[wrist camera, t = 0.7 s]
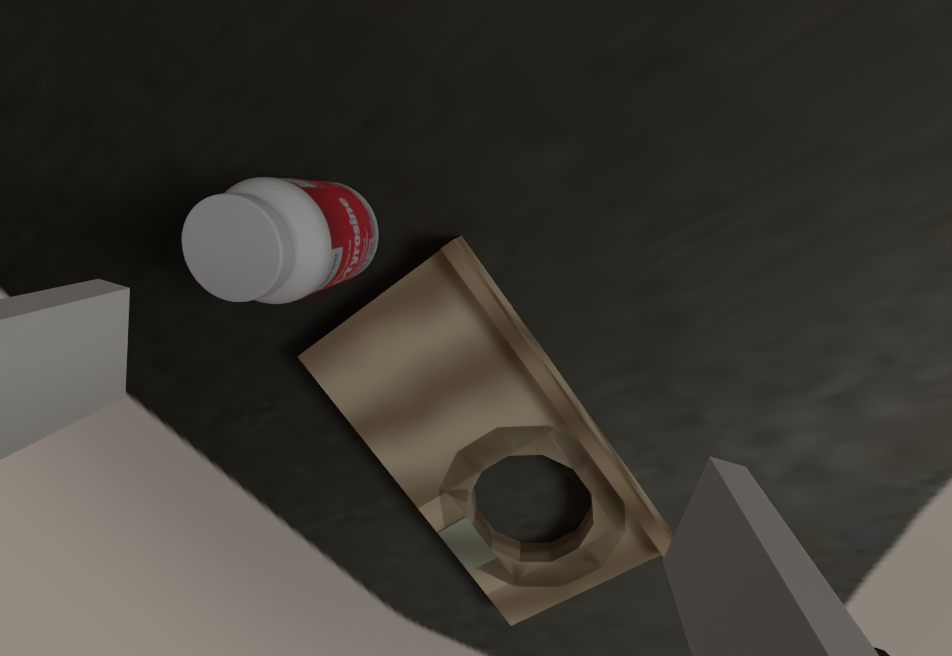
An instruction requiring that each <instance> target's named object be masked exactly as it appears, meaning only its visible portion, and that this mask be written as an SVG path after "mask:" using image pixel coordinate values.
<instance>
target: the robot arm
mask: <svg viewBox="0 0 952 656" xmlns="http://www.w3.org/2000/svg"><path fill="white" fill-rule="evenodd" d="M129 295H130V288H128V287H124V286H121V285H117V284H114V283H111V282H107V281H104V280H100V279H96V280H91V281H86V282H81V283H77V284H72V285H67V286H62V287H57V288H53V289H48V290H43V291H38V292H33V293H29V294H24V295H19V296H14V297H9V298H5V299H0V459H2V458H4V457H6V456H8V455H10V454H12V453H14V452H16V451H18V450H20V449H22V448H24V447H26V446H28V445H30V444H32V443H34V442H36V441H38V440H40V439H42V438H44V437H46V436H48V435H50V434H52V433H54V432H56V431H58V430H60V429H62V428H64V427H66V426H68V425H70V424H72V423H74V422H76V421H78V420H80V419H82V418H84V417H86V416H88V415H90V414H92V413H94V412H96V411H98V410H100V409H102V408H104V407H106V406H108V405H110V404H112V403H114V402H116V401H118V400H120V399H122V398H124V397H125V388H126V365H127V341H128V318H129ZM663 563H664V566H665V570H666V573H667V576H668V579H669V583H670V586H671V589H672V592H673V596H674V599H675V602H676V605H677V609H678V612H679V615H680V618H681V621H682V625H683V628H684V631H685V634H686V638H687V641H688V644H689V647H690V651H691V654H692V656H889V655H888V654H887V653H886V652H885V651H884V650H881V649H878V648H874V647H873V646H872V645H871V643H870V642H869V641H868V639H867V638H866V636H865V635H864V634H863V632H862V631H861V630H860V628H859V626H858V625H857V624H856V622H855V621H854V619H853V618H852V617H851V615H850V614H849V612H848V611H847V609H846V608H845V607H844V605H843V604H842V602H841V601H840V600H839V598H838V597H837V595H836V594H835V592H834V591H833V590H832V588H831V587H830V585H829V584H828V583H827V581H826V580H825V578H824V577H823V576H822V574H821V573H820V571H819V570H818V568H817V567H816V566H815V564H814V563H813V561H812V560H811V559H810V557H809V556H808V554H807V553H806V551H805V550H804V549H803V547H802V546H801V544H800V543H799V542H798V540H797V539H796V537H795V536H794V534H793V533H792V532H791V530H790V529H789V527H788V526H787V525H786V523H785V522H784V520H783V519H782V517H781V516H780V515H779V513H778V512H777V510H776V509H775V508H774V506H773V505H772V503H771V502H770V500H769V499H768V498H767V496H766V495H765V493H764V492H763V491H762V489H761V488H760V486H759V485H758V483H757V482H756V481H755V479H754V478H753V476H752V475H751V474H750V472H749V471H748V469H747V468H746V467H744V466H740V465H737V464H734V463H730V462H727V461H723V460H720V459H716V458H713V457H709V459H708V461H707V463H706V465H705V468H704V470H703V472H702V474H701V476H700V479H699V481H698V483H697V485H696V488H695V490H694V492H693V494H692V497H691V499H690V501H689V503H688V505H687V508H686V510H685V512H684V514H683V517H682V519H681V521H680V523H679V526H678V528H677V530H676V532H675V534H674V537H673V539H672V541H671V543H670V546H669V548H668V550H667V552H666V555H665V557H664V559H663Z"/></svg>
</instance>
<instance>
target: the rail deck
mask: <svg viewBox="0 0 952 656" xmlns="http://www.w3.org/2000/svg"><path fill="white" fill-rule="evenodd" d="M298 358H299V359H300V361H301V362H302V363H303V364H304V366H305V367H306V368H307V369H308V371H309V372H310V373H311V374H312V376H313V377H314V378H315V379H316V381H317V382H318V383H319V385H320V386H321V387H322V388H323V390H324V391H325V392H326V393H327V395H328V396H329V397H330V398H331V400H332V401H333V402H334V403H335V405H336V406H337V407H338V408H339V410H340V411H341V412H342V413H343V415H344V416H345V417H346V419H347V420H348V421H349V422H350V424H351V425H352V426H353V427H354V429H355V430H356V431H357V432H358V434H359V435H360V436H361V437H362V439H363V440H364V441H365V442H366V444H367V445H368V446H369V447H370V449H371V450H372V451H373V452H374V454H375V455H376V456H377V458H378V459H379V460H380V461H381V463H382V464H383V465H384V466H385V468H386V469H387V470H388V471H389V473H390V474H391V475H392V476H393V478H394V479H395V480H396V481H397V483H398V484H399V485H400V486H401V488H402V489H403V490H404V492H405V493H406V494H407V495H408V497H409V498H410V499H411V500H412V502H413V503H414V504H415V505H416V507H417V508H418V509H419V510H420V512H421V513H422V514H423V515H424V517H425V518H426V519H427V520H428V522H429V523H430V524H431V525H432V527H433V528H434V529H435V531H436V532H437V533H438V534H439V536H440V537H441V538H442V539H443V541H444V542H445V543H446V544H447V546H448V547H449V548H450V549H451V551H452V552H453V553H454V554H455V556H456V557H457V558H458V559H459V561H460V562H461V563H462V565H463V566H464V567H465V568H466V570H467V571H468V572H469V573H470V575H471V576H472V577H473V578H474V580H475V581H476V582H477V583H478V585H479V586H480V587H481V588H482V590H483V591H484V592H485V593H486V595H487V596H488V597H489V599H490V600H491V601H492V602H493V604H494V605H495V606H496V607H497V609H498V610H499V611H500V612H501V614H502V615H503V616H504V617H505V619H506V620H507V621H508V622H509V624H510V625H514V624H516V623H518V622H520V621H522V620H524V619H526V618H528V617H530V616H533V615H535V614H537V613H539V612H541V611H543V610H545V609H547V608H550V607H552V606H554V605H556V604H558V603H560V602H562V601H564V600H566V599H569V598H571V597H573V596H575V595H577V594H579V593H581V592H583V591H585V590H588V589H590V588H592V587H594V586H596V585H598V584H600V583H602V582H604V581H607V580H609V579H611V578H613V577H615V576H617V575H619V574H621V573H623V572H626V571H628V570H630V569H632V568H634V567H636V566H638V565H640V564H642V563H645V562H647V561H649V560H651V559H653V558H655V557H657V556H659V555H663V557H665V555H666V552H667V550H668V548H669V546H670V543H671V541H672V539H673V535H672V532H671V529H670V527H669V526H668V524H667V523H666V521H665V520H664V519H663V517H662V516H661V514H660V513H659V512H658V510H657V509H656V507H655V506H654V505H653V503H652V502H651V500H650V499H649V498H648V496H647V495H646V493H645V492H644V491H643V489H642V488H641V486H640V485H639V484H638V482H637V481H636V479H635V478H634V477H633V475H632V474H631V472H630V471H629V470H628V468H627V467H626V465H625V464H624V463H623V461H622V460H621V458H620V457H619V456H618V454H617V453H616V451H615V450H614V449H613V447H612V446H611V444H610V443H609V442H608V440H607V439H606V437H605V436H604V435H603V433H602V432H601V430H600V429H599V428H598V426H597V425H596V423H595V422H594V421H593V419H592V418H591V416H590V415H589V414H588V412H587V411H586V409H585V408H584V407H583V405H582V404H581V402H580V401H579V400H578V398H577V397H576V395H575V394H574V393H573V391H572V390H571V388H570V387H569V386H568V384H567V383H566V382H565V380H564V379H563V377H562V376H561V375H560V373H559V372H558V370H557V369H556V368H555V366H554V365H553V363H552V362H551V361H550V359H549V358H548V356H547V355H546V354H545V352H544V351H543V349H542V348H541V347H540V345H539V344H538V342H537V341H536V340H535V338H534V337H533V335H532V334H531V333H530V331H529V330H528V328H527V327H526V326H525V324H524V323H523V321H522V320H521V319H520V317H519V316H518V314H517V313H516V312H515V310H514V309H513V307H512V306H511V305H510V303H509V302H508V300H507V299H506V298H505V296H504V295H503V293H502V292H501V291H500V289H499V288H498V286H497V285H496V284H495V282H494V281H493V279H492V278H491V277H490V275H489V274H488V272H487V271H486V270H485V268H484V267H483V265H482V264H481V263H480V261H479V260H478V258H477V257H476V256H475V254H474V253H473V251H472V250H471V249H470V247H469V246H468V244H467V243H466V242H465V240H464V239H463V237H462V236H460V237H458V238H456V239H454V240H452V241H450V242H449V243H448V244H446V245H445V246H444V247H442V248H441V250H440V251H438V252H437V253H436V254H434V255H433V256H432V257H430V258H429V259H428V260H426V261H425V262H424V263H422V264H421V265H420V266H418V267H417V268H416V269H414V270H413V271H412V272H410V273H409V274H408V275H406V276H405V277H404V278H402V279H401V280H400V281H398V282H397V283H396V284H394V285H393V286H391V287H390V288H389V289H387V290H386V291H385V292H383V293H382V294H381V295H379V296H378V297H377V298H375V299H374V300H373V301H371V302H370V303H369V304H367V305H366V306H365V307H363V308H362V309H361V310H359V311H358V312H357V313H355V314H354V315H353V316H351V317H350V318H349V319H347V320H346V321H345V322H343V323H342V324H341V325H339V326H338V327H337V328H335V329H334V330H333V331H331V332H330V333H329V334H327V335H326V336H325V337H323V338H322V339H321V340H319V341H318V342H317V343H315V344H314V345H313V346H311V347H310V348H309V349H307V350H306V351H304V352H303V353H302V354H300V355H299V356H298ZM509 455H544V456H546V457H549V458H551V459H553V460H555V461H557V462H559V463H561V464H563V465H566V466H568V467H570V468H572V469H573V470H574V471H575V472H576V474H577V475H578V477H579V478H580V479H581V481H582V482H583V483H584V485H585V486H586V487H587V489H588V490H589V492H590V494H591V507H590V509H589V510H588V512H587V513H586V515H585V517H584V518H583V520H582V522H581V523H580V525H579V527H578V528H577V529H576V530H574V531H572V532H571V533H569V534H567V535H565V536H563V537H561V538H559V539H557V540H555V541H553V542H519V541H517V540H515V539H513V538H511V537H509V536H507V535H505V534H502V533H500V532H498V531H496V530H494V529H493V528H492V526H491V525H490V524H489V522H488V521H487V520H486V518H485V517H484V516H483V515H482V513H481V512H480V511H479V509H478V508H477V506H476V498H475V490H474V485H475V483H476V482H477V480H478V478H479V476H480V474H481V472H482V471H483V470H485V469H486V468H488V467H490V466H491V465H493V464H495V463H497V462H498V461H500V460H502V459H503V458H505V457H507V456H509Z"/></svg>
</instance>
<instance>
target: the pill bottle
mask: <svg viewBox="0 0 952 656" xmlns="http://www.w3.org/2000/svg"><path fill="white" fill-rule="evenodd" d="M377 245H378V225H377V221H376V218H375V215H374V213H373V211H372V209H371V207H370V205H369V204H368V203H367V201H366V200H365V199H364V198H363V197H362V196H361V195H360V194H359V193H358V192H356V191H355V190H353V189H352V188H350V187H348V186H346V185H343V184H340V183H335V182H328V181H314V180H301V179H289V178H287V179H285V178H271V177H258V178H251V179H247V180H244V181H242V182H239V183H237V184H235V185H234V186H232V187H231V188H229V189H228V190H227V191H226V192H225V193H224V194H217V195H213V196H210V197H207V198H205V199H203V200H202V201H200V202H199V203H198V204H197V205H195V206H194V208H193V209H192V210H191V211H190V213H189V214H188V216H187V218H186V221H185V223H184V227H183V231H182V248H183V254H184V258H185V261H186V263H187V265H188V267H189V269H190V271H191V273H192V275H193V276H194V278H195V279H196V280H197V281H198V283H199V284H200V285H201V286H202V287H204V288H205V289H206V290H207V291H208V292H210V293H211V294H213V295H215V296H217V297H219V298H221V299H224V300H227V301H233V302H245V301H251V300H256V301H259V302H263V303H270V304H282V303H288V302H292V301H295V300H299V299H301V298H304V297H306V296H308V295H311V294H313V293H316V292H318V291H321V290H323V289H326V288H328V287H331V286H333V285H335V284H338V283H340V282H343V281H345V280H348V279H350V278H352V277H354V276H356V275H358V274H359V273H361V272H362V271H363V270H364V269H365V268H366V267H367V266H368V265H369V263H370V262H371V260H372V259H373V257H374V255H375V252H376V249H377Z"/></svg>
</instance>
